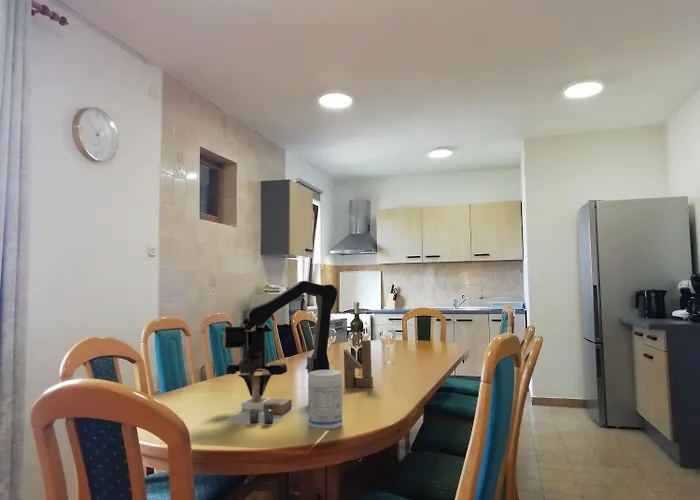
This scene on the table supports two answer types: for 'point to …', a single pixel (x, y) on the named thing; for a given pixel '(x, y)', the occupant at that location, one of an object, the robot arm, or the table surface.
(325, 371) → the supplement tub
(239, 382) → the table surface
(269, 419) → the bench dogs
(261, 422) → the mat
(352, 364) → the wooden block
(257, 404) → the tray
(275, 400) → the cardboard brown brick
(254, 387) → the dowel
